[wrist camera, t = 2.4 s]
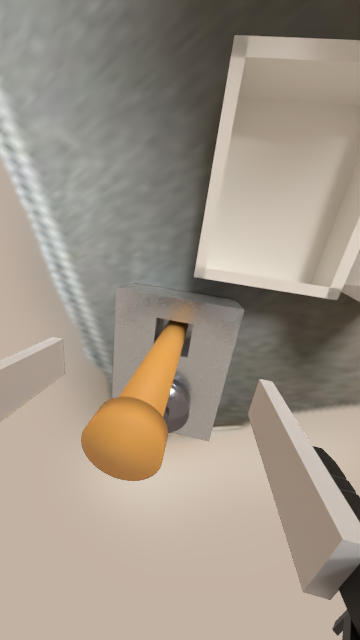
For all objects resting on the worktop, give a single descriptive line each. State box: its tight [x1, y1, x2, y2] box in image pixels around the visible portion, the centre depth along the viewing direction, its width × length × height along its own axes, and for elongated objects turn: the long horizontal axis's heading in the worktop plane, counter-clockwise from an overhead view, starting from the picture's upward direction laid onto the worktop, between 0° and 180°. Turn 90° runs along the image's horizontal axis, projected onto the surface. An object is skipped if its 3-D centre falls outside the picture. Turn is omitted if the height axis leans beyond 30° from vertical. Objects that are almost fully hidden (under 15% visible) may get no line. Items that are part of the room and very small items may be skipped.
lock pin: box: [81, 320, 188, 481], centre depth 14 cm, size 3×3×15 cm
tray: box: [194, 35, 360, 300], centre depth 15 cm, size 16×13×4 cm
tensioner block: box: [112, 283, 244, 441], centre depth 19 cm, size 16×12×8 cm
